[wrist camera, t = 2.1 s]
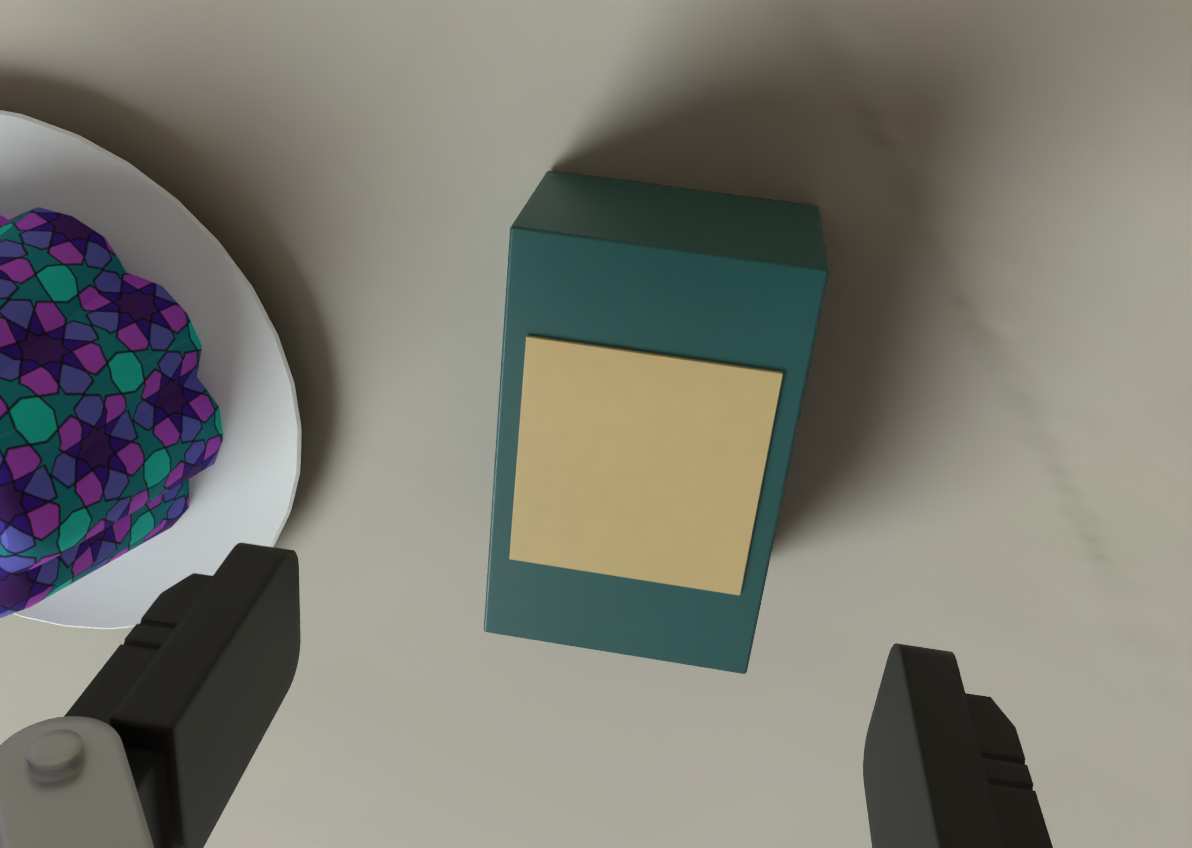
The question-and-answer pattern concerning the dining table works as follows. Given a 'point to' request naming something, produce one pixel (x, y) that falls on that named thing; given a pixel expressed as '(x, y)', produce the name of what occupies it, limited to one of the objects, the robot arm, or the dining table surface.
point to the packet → (648, 414)
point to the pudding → (126, 389)
